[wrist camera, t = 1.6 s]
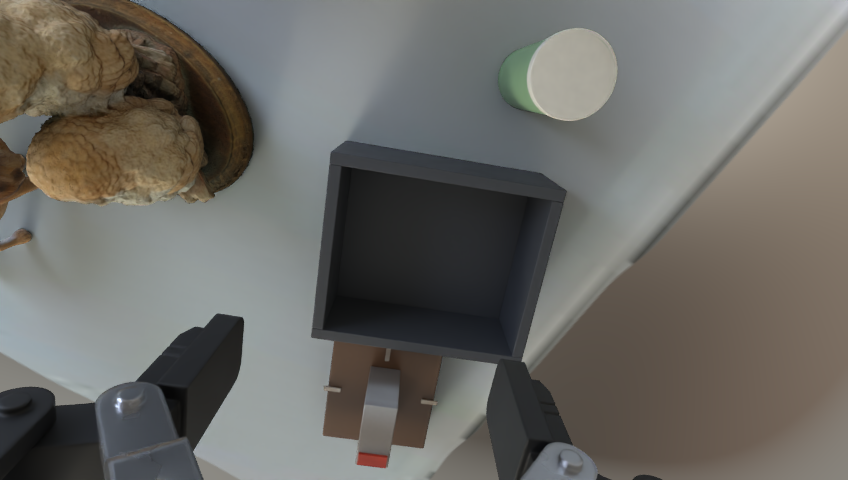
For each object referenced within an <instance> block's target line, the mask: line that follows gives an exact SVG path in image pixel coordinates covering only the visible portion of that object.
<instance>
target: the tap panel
mask: <svg viewBox="0 0 848 480" xmlns="http://www.w3.org/2000/svg"><path fill="white" fill-rule="evenodd" d="M441 361H442V356H438V355H431V354H423V353H416V352H409V351H402V350H395V349H388V348H381V347H374V346H367V345H360V344H353V343H345V342H338V341H334V347H333V355H332V363H331V371H330V379H329V386H324V390H325V391H328V395H327V403H326V411H325V419H324V427H323V436H330V437H338V438H346V439H353V440H359V435H360V428H361V422H362V415H363V409H364V402H365V397H366V391H367V385H368V379H369V373H370V367H371V366H374V367H381V368H388V369H395V370H400V385H399V401H398V412H397V417H396V423H395V429H394V434H393V440H392V445H400V446H408V447H416V448H424V444H425V439H426V434H427V429H428V424H429V419H430V415H431V410H432V405H437V403H438V401H434V395H435V390H436V385H437V381H438V376H439V371H440V366H441Z"/></svg>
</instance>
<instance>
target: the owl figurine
mask: <svg viewBox="0 0 848 480" xmlns="http://www.w3.org/2000/svg"><path fill="white" fill-rule="evenodd" d="M24 113H25V114H27V115H29V116H33V117H36V116H41V115H43V114H45V115H46V116H48V115H49V116H52V118H51V117H50V118H49V120H46V121H45V123H44V124H42V125H41V126H42V127H40V128H41V130H40V131H39V132H37V133H35V136H34V137H33V138H32V141H31V144H30V145H29V146H28V147H29V149H28V152H27V155H26V158H27V162H26V171H27V174H28V176H29V178H30V181H31V182H33V183H34V184H35V185H36V186H37V187H38V188H39V189H41V190H42V191H43V192H44V193H45V194H46V195H47V196H49V197H50V198H53V199H56V200H59V201H64V202H68V201H76V202H79V203H82V204H90V203H93V204H97V205H99V206H101V207H102V206H104V205H107V204H108V203H111V202H118V203H122V204H124V205H134V206H135V205H138V206H139V205H140V206H144V205H150V204H152V203H154V202H157V201H167V200H170V199H172V198H175V197H176V195H180V196H181V197H182V198H183V199H185V200H186V201H187V202H189V203H194V202H195V201H197V200H200V201H202V202H204V203H205V202H207V201H208V200H209V199H212V198H214V197H215V194H214V193H216V192H218V191H221V190H223V189H225V188H227V187H229V186H230V185H232V184H233V183H234V182H235V181H236V180H237V179H238V178H239V177H240V176H241V175H242V174H243V173H244V171H245V169H246V168H247V166H248V165H249V161H250V159H251V157H252V152H253V150H254V149H253V146H254V145H253V142H254V133H253V126H252V120H251V117H250V115H249V112H248V109H247V107H246V104H245V103H244V101H243V98H241V95H240V93H239V91H238V89H237V88H236V86H235V85H234V83H233V81H232V80H231V78H230V77H229V76H228V75H227V73H226V72H225V71H224V69H223V68H222V67H221V66H220V65H219V63H218V62H217V61H216V60H215V59H214V58H213V57H212V56H211V55H210V54H209V53H208V52H207V51H206V50H205V49H204V48H203V47H202V46H201V45H200V44H198V43H197V42H196V41H195V40H194V39H193V38H191V37H190V36H189V35H188V34H186V33H185V32H184V31H182V30H181V29H180V28H178V27H177V26H175V25H174V24H172V23H171V22H169V21H168V20H167V19H166V18H164V17H161V16H160V15H158V14H157V13H155V12H153V11H151V10H149V9H147V8H145V7H143V6H141V5H138V4H136V3H134V2H132V1H130V0H0V124H1V123H3V122H5V121H8V120H11V119H14V118H16V117H17V116H18V115H22V114H24ZM186 201H185V202H186Z"/></svg>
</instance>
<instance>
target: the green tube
mask: <svg viewBox="0 0 848 480" xmlns="http://www.w3.org/2000/svg"><path fill="white" fill-rule="evenodd" d="M617 72H618V70H617V60H616V56H615V53H614V51H613V49H612V47H611V46H610V44H609V43H608V42H607V40H606V39H605V38H604V37H602V36H601V35H600V34H598V33H597V32H594V31H592V30H589V29H585V28H571V29H567V30H563V31H561V32H558V33H556V34H554V35H552V36H550V37H549V38H547V39H545V40H542V41H540V42H537V43H534V44H532V45H529V46H526V47H524V48H521V49H518V50H516V51H514V52H513V53H511V54H510V55H509V56H508V57H507V58H506V59H505V61H504V62H503V64H502V66H501V68H500V71H499V75H498V86H499V90H500V93H501V95H502V97H503V98H504V100H505V101H506V102H507V103H508V104H510V105H511V106H513V107H515V108H518V109H522V110H526V111H531V112H536V113H540V114H545V115H548V116H550V117H552V118H555V119H559V120H565V121H574V120H580V119H583V118H586V117H588V116H590V115H592V114H593V113H595V112H596V111H598V110H599V109H600V108H601V107H602V106H603V105H604V104H605V103H606V102H607V100H608V99H609V97H610V96H611V94H612V92H613V90H614V87H615V84H616V80H617Z"/></svg>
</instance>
